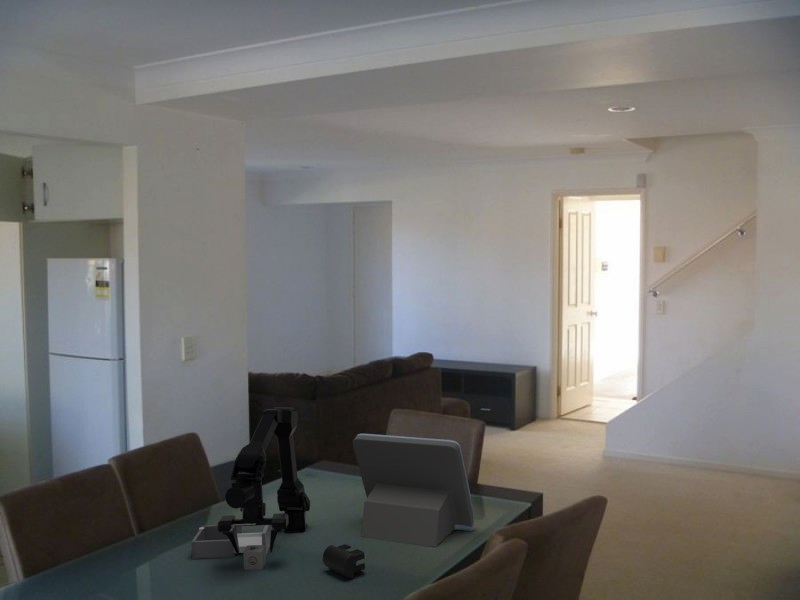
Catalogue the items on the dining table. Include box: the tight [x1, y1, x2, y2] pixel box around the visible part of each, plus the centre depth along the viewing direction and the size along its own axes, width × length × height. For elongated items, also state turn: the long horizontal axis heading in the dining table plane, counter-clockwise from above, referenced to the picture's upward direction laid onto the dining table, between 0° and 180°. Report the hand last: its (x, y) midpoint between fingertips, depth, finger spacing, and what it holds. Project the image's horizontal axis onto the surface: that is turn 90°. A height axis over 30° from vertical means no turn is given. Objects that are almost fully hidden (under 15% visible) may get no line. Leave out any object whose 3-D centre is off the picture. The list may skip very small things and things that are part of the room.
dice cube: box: [242, 545, 267, 571], centre depth 221 cm, size 5×5×5 cm
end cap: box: [322, 543, 366, 580], centre depth 213 cm, size 10×7×7 cm
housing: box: [190, 524, 243, 560], centre depth 235 cm, size 12×14×5 cm
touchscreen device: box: [352, 433, 475, 548], centre depth 243 cm, size 35×20×30 cm, turn 63°
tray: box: [234, 525, 272, 556], centre depth 235 cm, size 12×14×6 cm
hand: (254, 552), depth 221 cm, fingers open, 9 cm apart
